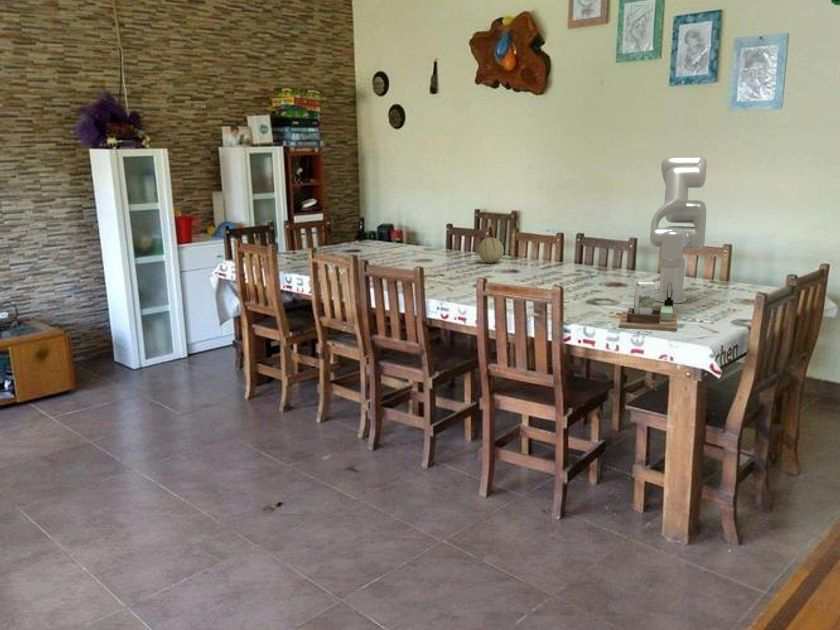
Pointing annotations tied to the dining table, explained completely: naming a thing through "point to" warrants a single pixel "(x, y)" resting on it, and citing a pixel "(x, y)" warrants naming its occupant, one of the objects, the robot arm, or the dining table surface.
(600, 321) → the dining table surface
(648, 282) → the syrup box
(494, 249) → the cantaloupe
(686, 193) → the robot arm
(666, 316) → the bar
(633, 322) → the socket board
